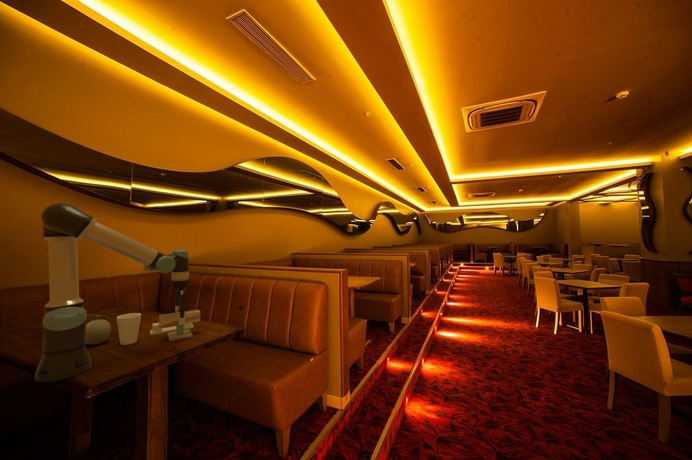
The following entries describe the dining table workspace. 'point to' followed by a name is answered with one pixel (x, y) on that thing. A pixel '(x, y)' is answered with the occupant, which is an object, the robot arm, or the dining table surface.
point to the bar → (174, 318)
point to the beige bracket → (159, 330)
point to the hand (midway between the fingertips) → (179, 321)
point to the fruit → (97, 330)
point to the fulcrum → (179, 333)
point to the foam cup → (128, 328)
